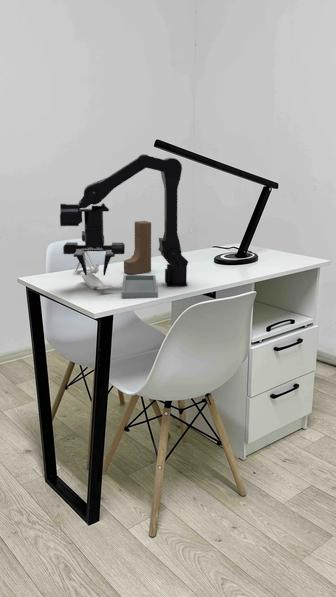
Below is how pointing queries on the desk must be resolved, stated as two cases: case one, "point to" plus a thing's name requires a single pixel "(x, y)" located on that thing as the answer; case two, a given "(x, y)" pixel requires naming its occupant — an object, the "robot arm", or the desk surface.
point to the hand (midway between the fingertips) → (95, 275)
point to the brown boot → (140, 250)
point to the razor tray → (139, 286)
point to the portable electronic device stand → (89, 264)
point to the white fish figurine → (94, 281)
